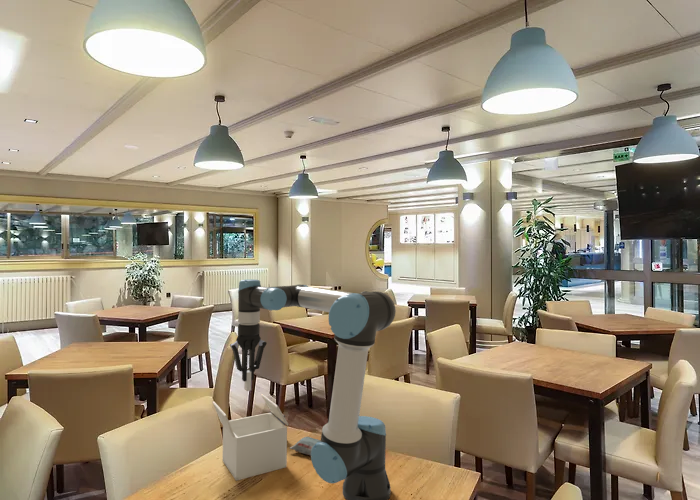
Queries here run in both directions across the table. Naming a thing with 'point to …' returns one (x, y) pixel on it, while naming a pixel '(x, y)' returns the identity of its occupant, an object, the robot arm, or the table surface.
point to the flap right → (274, 409)
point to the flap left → (223, 419)
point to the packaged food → (305, 445)
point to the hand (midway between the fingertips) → (247, 389)
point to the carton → (255, 446)
